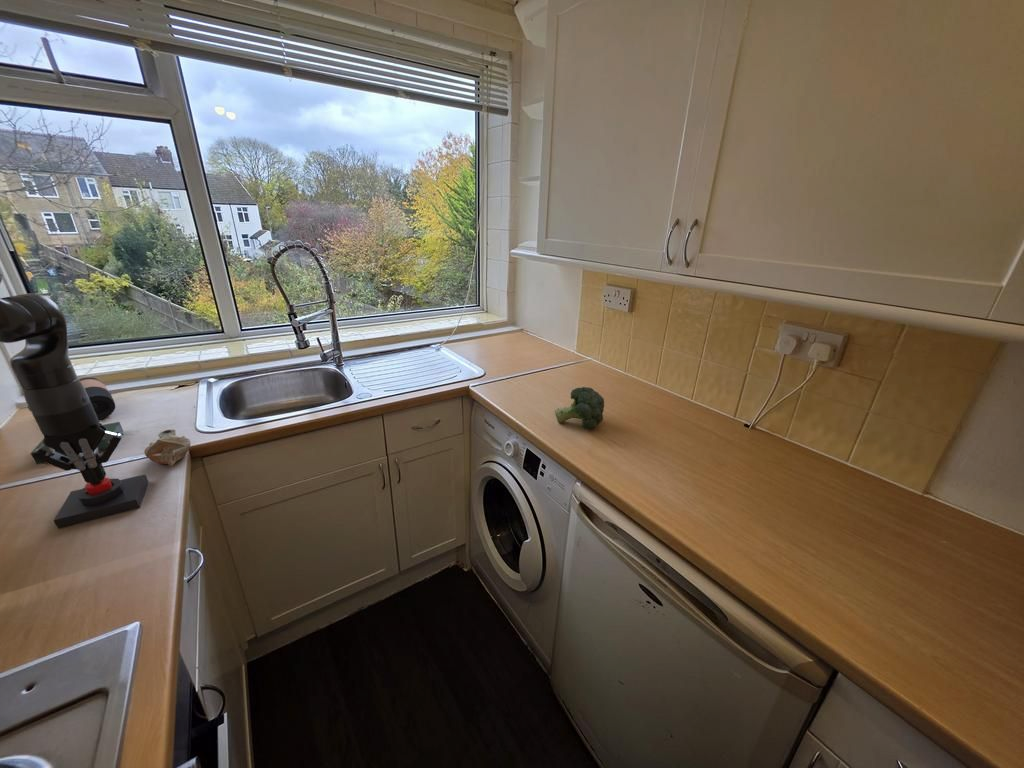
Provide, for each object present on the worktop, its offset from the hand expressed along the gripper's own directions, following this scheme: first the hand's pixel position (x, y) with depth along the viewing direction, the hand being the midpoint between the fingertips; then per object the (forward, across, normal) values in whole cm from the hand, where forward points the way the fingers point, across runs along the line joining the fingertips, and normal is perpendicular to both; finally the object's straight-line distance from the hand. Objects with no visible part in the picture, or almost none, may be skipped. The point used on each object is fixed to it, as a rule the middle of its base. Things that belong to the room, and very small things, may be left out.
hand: (97, 481), depth 82 cm
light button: (+2, 0, 0) cm, 2 cm away
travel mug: (+2, +10, -49) cm, 50 cm away
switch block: (+6, 0, 0) cm, 6 cm away
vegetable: (+6, -108, +22) cm, 110 cm away
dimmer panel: (+6, +11, -32) cm, 34 cm away
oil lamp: (+6, -9, -15) cm, 18 cm away
